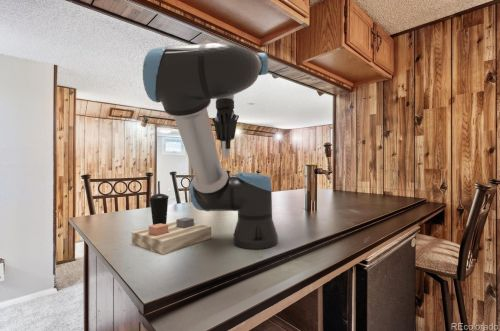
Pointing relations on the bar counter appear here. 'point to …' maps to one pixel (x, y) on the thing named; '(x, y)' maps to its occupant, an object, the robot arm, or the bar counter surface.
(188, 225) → the gray block
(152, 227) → the salmon block
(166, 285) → the bar counter surface
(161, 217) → the drinking cup
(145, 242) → the panel
